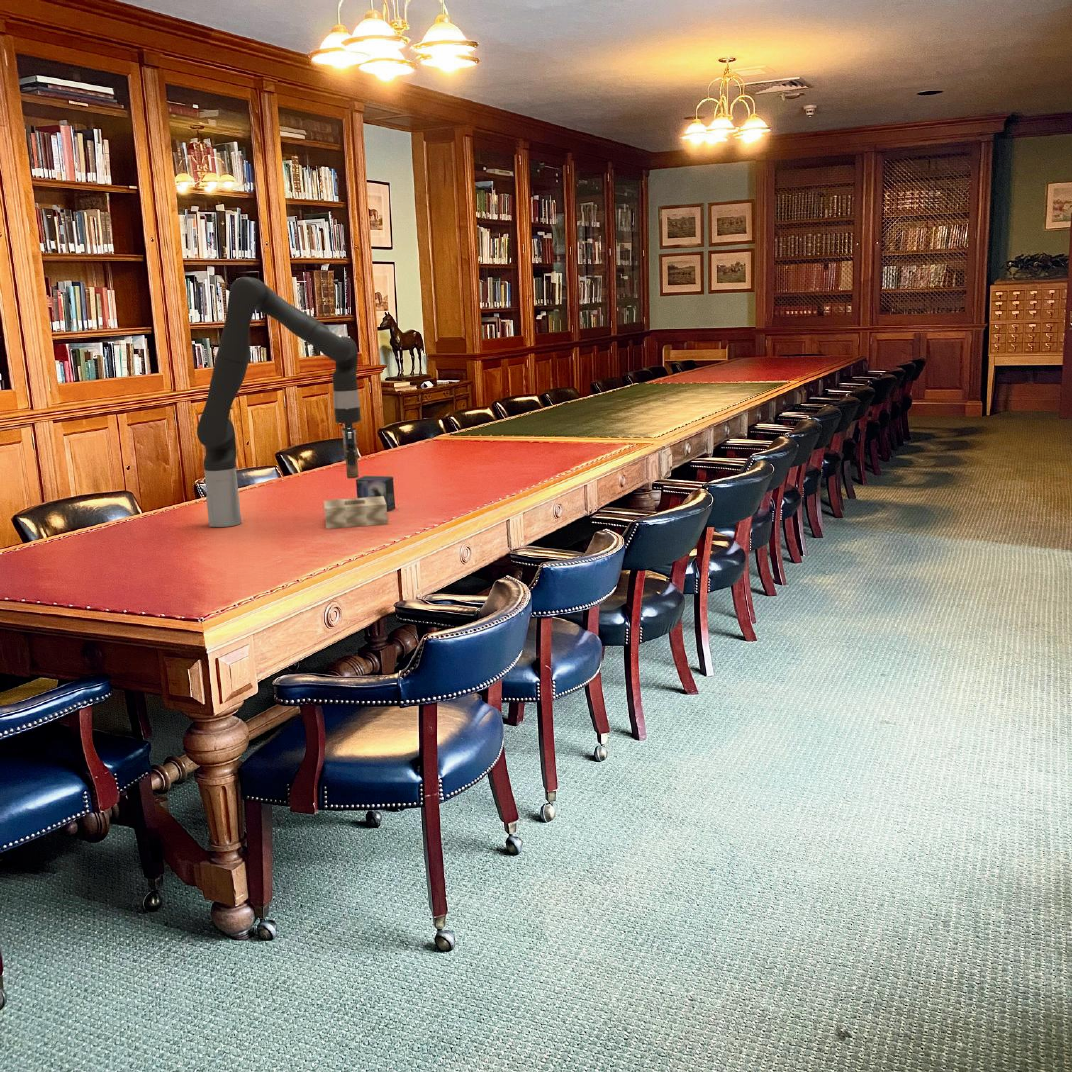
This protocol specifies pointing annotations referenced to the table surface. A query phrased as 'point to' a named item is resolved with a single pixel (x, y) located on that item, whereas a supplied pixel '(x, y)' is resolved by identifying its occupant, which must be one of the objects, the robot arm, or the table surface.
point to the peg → (351, 469)
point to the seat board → (355, 512)
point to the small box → (377, 489)
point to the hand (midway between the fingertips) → (351, 463)
